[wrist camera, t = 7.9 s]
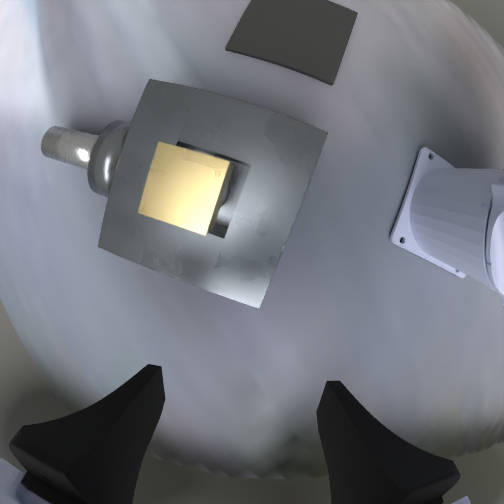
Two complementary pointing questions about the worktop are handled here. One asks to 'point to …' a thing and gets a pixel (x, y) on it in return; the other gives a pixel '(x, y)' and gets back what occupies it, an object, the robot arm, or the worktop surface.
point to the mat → (295, 35)
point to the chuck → (230, 214)
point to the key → (186, 188)
